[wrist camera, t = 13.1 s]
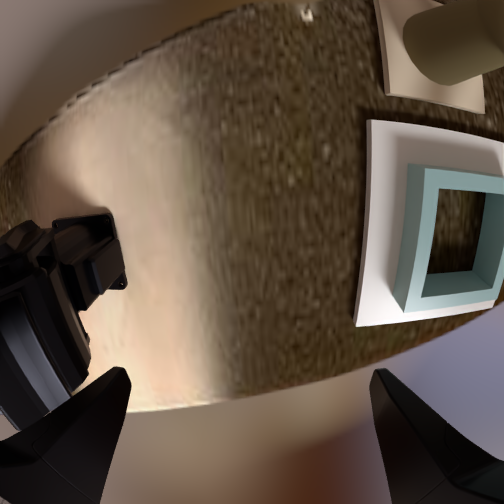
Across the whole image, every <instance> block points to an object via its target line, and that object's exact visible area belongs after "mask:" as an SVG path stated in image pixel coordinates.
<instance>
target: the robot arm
mask: <svg viewBox="0 0 504 504" xmlns="http://www.w3.org/2000/svg"><path fill="white" fill-rule="evenodd" d="M106 218H108V220H109V222H107V221H106ZM56 223H57V224H56ZM57 225H58V226H57ZM120 282H122V283H123V285H122V284H121V283H120ZM127 285H128V282H127V278H126V274H125V265H124V261H123V256H122V252H121V247H120V243H119V240H118V239H117V234H116V229H115V224H114V218H113V216H112V215H111V214H110V213H103V214H94V215H85V216H76V217H68V218H60V219H56V220H54V221H53V222H52V228H47V229H40V226H37V225H36V224H35V223H34V222H33V221H32V220H27V221H25V222H23V223H21V224H19V225H17V226H15V227H14V228H12V229H11V230H9V231H8V232H7V233H6V234H5V235H3V236H1V238H0V415H4V416H5V417H6V418H7V419H8V421H9V422H10V423H11V424H12V425H13V427H14V428H15V429H16V430H18V431H20V432H18V433H16V434H14V435H13V436H11V437H9V438H7V439H5V440H2V441H0V504H100V500H101V497H102V493H103V489H104V485H105V482H106V478H107V475H108V471H109V468H110V464H111V461H112V458H113V454H114V451H115V448H116V445H117V442H118V439H119V435H120V432H121V429H122V426H123V422H124V419H125V415H126V410H127V406H128V401H129V396H130V392H131V386H132V385H131V381H130V379H129V376H128V374H127V372H126V370H125V369H124V368H123V367H113V368H111V369H110V370H109V371H107V372H106V373H104V374H103V375H102V376H100V377H99V378H97V379H96V380H95V381H93V382H92V383H91V384H89V385H88V386H86V387H85V388H84V389H82V390H81V391H79V392H78V393H77V394H75V395H74V396H73V395H72V394H71V393H72V392H73V391H75V390H76V389H77V388H78V387H79V386H80V385H81V384H82V383H83V382H84V381H85V379H86V378H87V376H88V375H89V372H88V370H87V369H88V367H89V364H90V360H91V353H90V348H89V342H90V338H89V336H88V333H86V332H85V329H84V327H83V325H82V322H81V320H80V317H79V314H78V313H79V312H80V311H81V310H82V311H86V310H87V309H88V308H89V307H90V306H91V305H92V303H93V302H94V301H95V300H96V299H97V298H98V296H99V295H103V294H104V293H105V291H106V290H107V289H111V290H123V289H125V288H126V287H127ZM369 390H370V397H371V403H372V411H373V419H374V425H375V430H376V434H377V438H378V442H379V446H380V450H381V454H382V458H383V463H384V467H385V472H386V476H387V481H388V486H389V490H390V496H391V501H392V504H504V461H502V460H499V459H497V458H495V457H493V456H492V455H490V454H489V453H487V452H486V451H484V450H483V449H482V448H480V447H479V446H477V445H476V444H474V443H473V442H471V441H470V440H468V439H467V438H466V437H464V436H463V435H462V434H460V432H458V431H457V430H456V429H455V428H454V427H452V426H451V425H450V424H449V423H447V421H446V420H444V419H443V418H442V417H441V416H440V415H439V414H438V413H436V412H435V411H434V410H433V409H432V408H431V407H430V406H429V405H427V404H426V403H425V402H424V401H423V400H422V399H420V398H419V397H418V396H417V395H416V394H415V393H414V392H413V391H412V390H410V389H409V388H408V387H407V386H406V385H405V384H404V383H402V382H401V381H400V380H399V379H398V378H397V377H396V376H395V375H393V374H392V373H391V372H390V371H389V370H388V369H386V368H380V369H375V370H374V372H373V376H372V379H371V382H370V386H369ZM55 408H56V409H55ZM53 409H54V410H53ZM52 410H53V411H52ZM50 411H51V413H48V412H50ZM47 413H48V414H47ZM46 414H47V415H46ZM45 415H46V416H45ZM21 430H22V431H21Z"/></svg>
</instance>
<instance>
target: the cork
mask: <svg viewBox="0 0 504 504" xmlns="http://www.w3.org/2000/svg"><path fill="white" fill-rule="evenodd" d="M403 41H404V45H405V50H406V51H407V53H408V55H409V57H410V59H411V61H412V62H413V64H414V65H415V66H416V67H417V69H418V70H419V71H420V72H421V73H422V74H423V75H425V76H426V77H427V78H428V79H429V80H431V81H433V82H435V83H437V84H440V85H446V86H452V85H455V84H458V83H461V82H463V81H466V80H468V79H471V78H473V77H476V76H478V75H481V74H484V73H486V72H489V71H492V70H495V69H497V68H500V67H503V66H504V0H459V1H455V2H451V3H448V4H445V5H441V6H438V7H435V8H432V9H429V10H426V11H423V12H420V13H417V14H414V15H413V16H411V17H410V18H409V19H407V21H406V23H405V25H404V27H403Z"/></svg>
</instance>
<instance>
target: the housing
mask: <svg viewBox="0 0 504 504" xmlns="http://www.w3.org/2000/svg"><path fill="white" fill-rule="evenodd" d="M366 122H367V177H366V202H365V219H364V233H363V244H362V255H361V265H360V273H359V282H358V289H357V297H356V304H355V310H354V317H353V321H354V324H355V326H356V327H359V326H370V325H380V324H390V323H398V322H406V321H414V320H422V319H429V318H436V317H442V316H449V315H455V314H461V313H466V312H472V311H477V310H482V309H488V308H492V307H493V304H494V301H495V299H497V297H498V294H499V291H500V288H501V285H502V281H503V278H504V143H502V142H499V141H495V140H491V139H487V138H483V137H479V136H475V135H470V134H466V133H461V132H456V131H451V130H446V129H440V128H434V127H428V126H422V125H415V124H408V123H400V122H391V121H382V120H366ZM439 188H444V189H457V190H468V191H478V192H486V198H485V206H484V213H483V220H482V226H481V232H480V237H479V242H478V247H477V252H476V256H475V261H474V265H473V269H472V271H462V272H450V273H437V274H426V272H427V267H428V262H429V257H430V251H431V246H432V239H433V233H434V226H435V218H436V210H437V201H438V190H439Z"/></svg>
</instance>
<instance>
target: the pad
mask: <svg viewBox="0 0 504 504" xmlns="http://www.w3.org/2000/svg"><path fill="white" fill-rule="evenodd" d="M373 1H374V7H375V12H376V18H377V24H378V31H379V38H380V46H381V55H382V64H383V75H384V89H385V95H391V96H398V97H404V98H410V99H416V100H422V101H427V102H432V103H437V104H441V105H446V106H450V107H454V108H458V109H462V110H466V111H470V112H473V113H477V114H485V108H484V92H483V82H482V74H481V75H478V76H476V77H473V78H471V79H468V80H466V81H463V82H461V83H458V84H455V85H452V86H446V85H440V84H437V83H435V82H433V81H431V80H429V79H428V78H427V77H426V76H425V75H423V74H422V73H421V72H420V71H419V70H418V69H417V67H416V66H415V65H414V64H413V62H412V61H411V59H410V57H409V55H408V53H407V51H406V50H405V45H404V41H403V27H404V25H405V23H406V21H407V19H409V18H410V17H411V16H413V15H414V14H417V13H420V12H423V11H426V10H429V9H432V8H435V7H438V6H441V5H444V4H441V3H438V2H435V1H432V0H373Z"/></svg>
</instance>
